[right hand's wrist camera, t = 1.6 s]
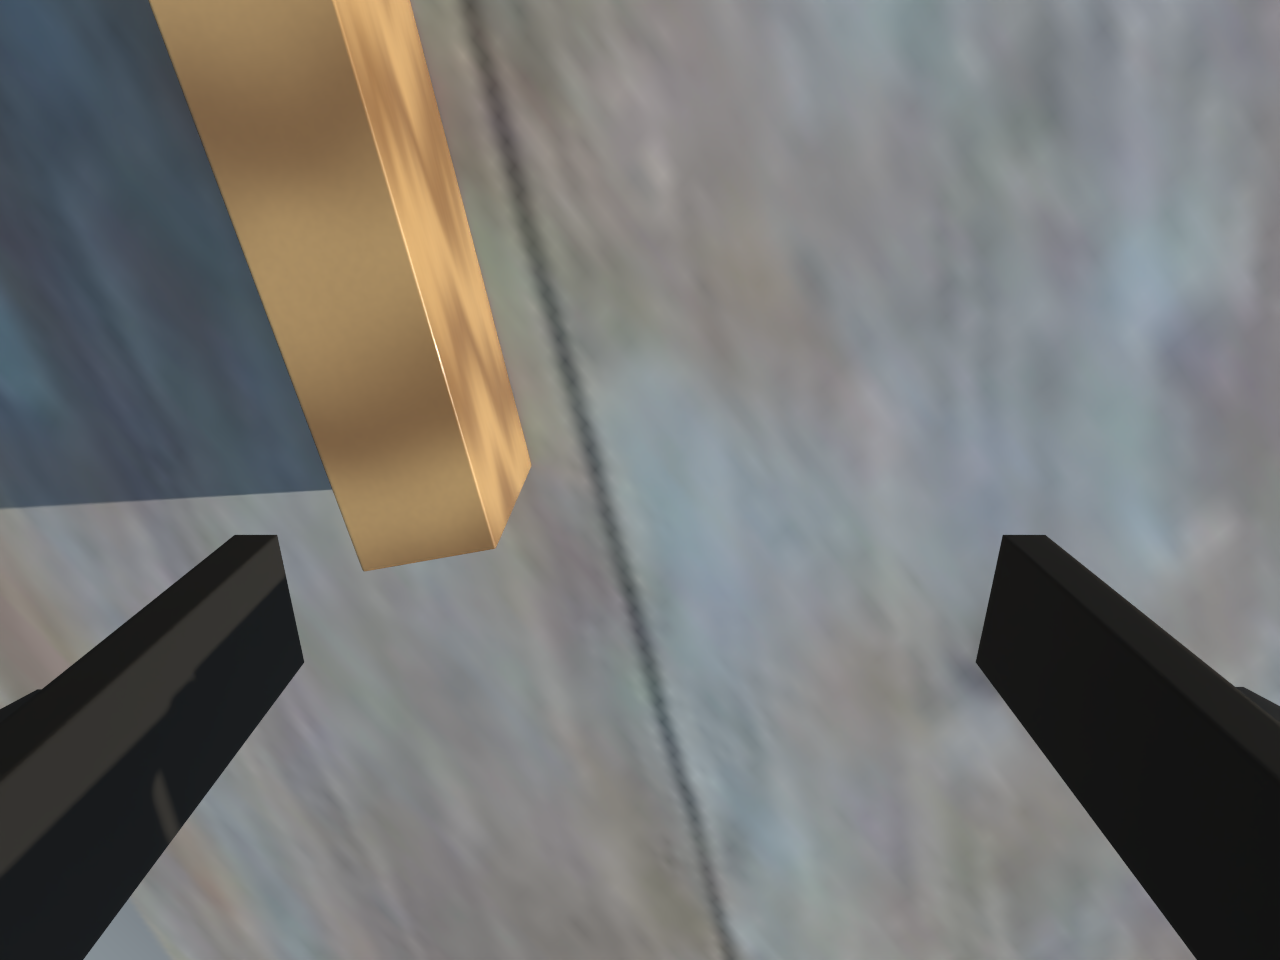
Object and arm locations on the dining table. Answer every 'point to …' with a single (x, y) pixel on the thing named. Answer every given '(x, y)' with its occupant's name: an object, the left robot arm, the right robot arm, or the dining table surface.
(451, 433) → the bar
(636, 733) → the dining table surface
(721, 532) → the dining table surface
